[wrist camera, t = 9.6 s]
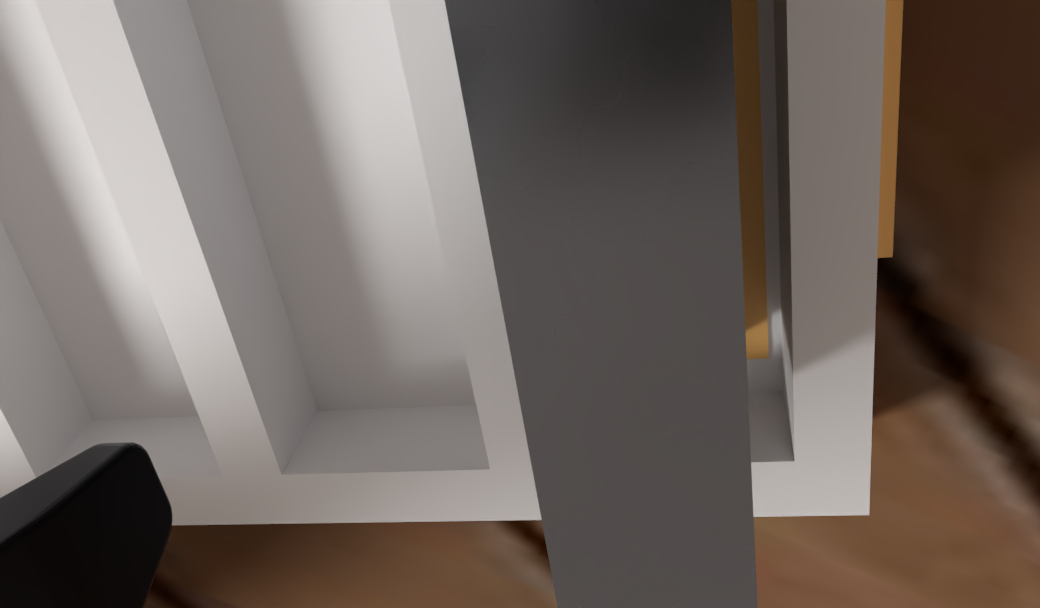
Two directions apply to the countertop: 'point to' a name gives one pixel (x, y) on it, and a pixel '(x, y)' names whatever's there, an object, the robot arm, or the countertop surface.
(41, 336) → the panel rack
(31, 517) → the robot arm
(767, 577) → the countertop surface
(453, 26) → the blanking panel
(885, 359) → the countertop surface
